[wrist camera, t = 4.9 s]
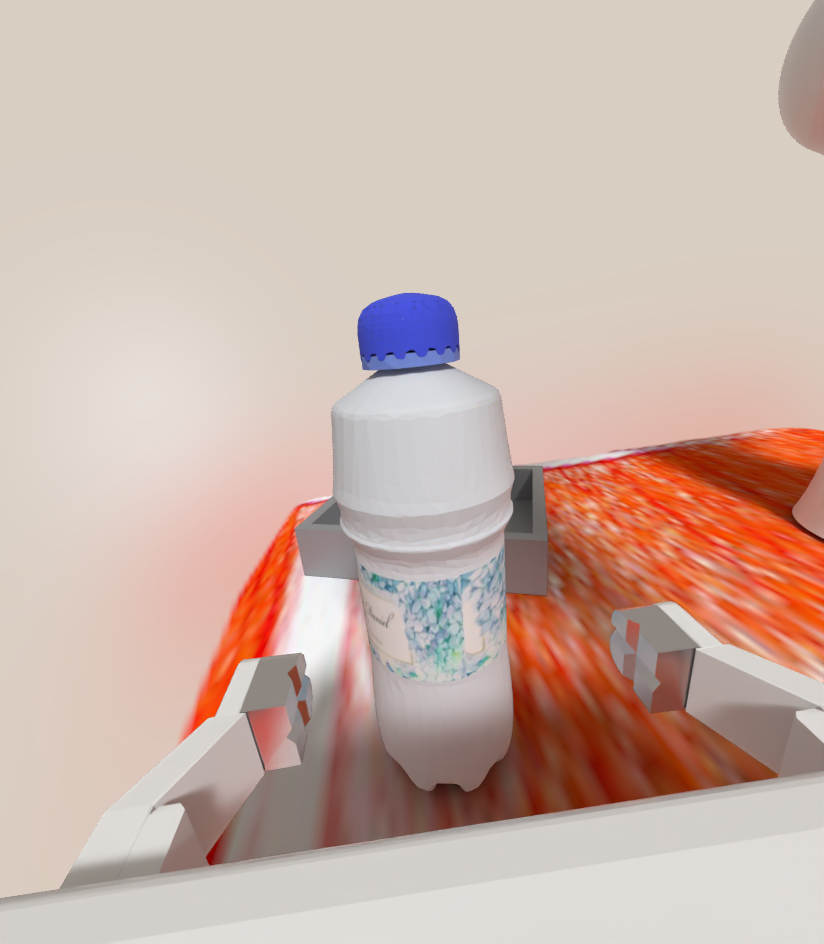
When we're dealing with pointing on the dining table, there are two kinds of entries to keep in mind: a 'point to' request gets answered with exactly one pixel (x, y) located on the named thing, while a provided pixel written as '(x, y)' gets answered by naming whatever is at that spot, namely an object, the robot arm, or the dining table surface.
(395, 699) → the bottle
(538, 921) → the robot arm
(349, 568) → the serving tray
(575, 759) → the dining table surface
